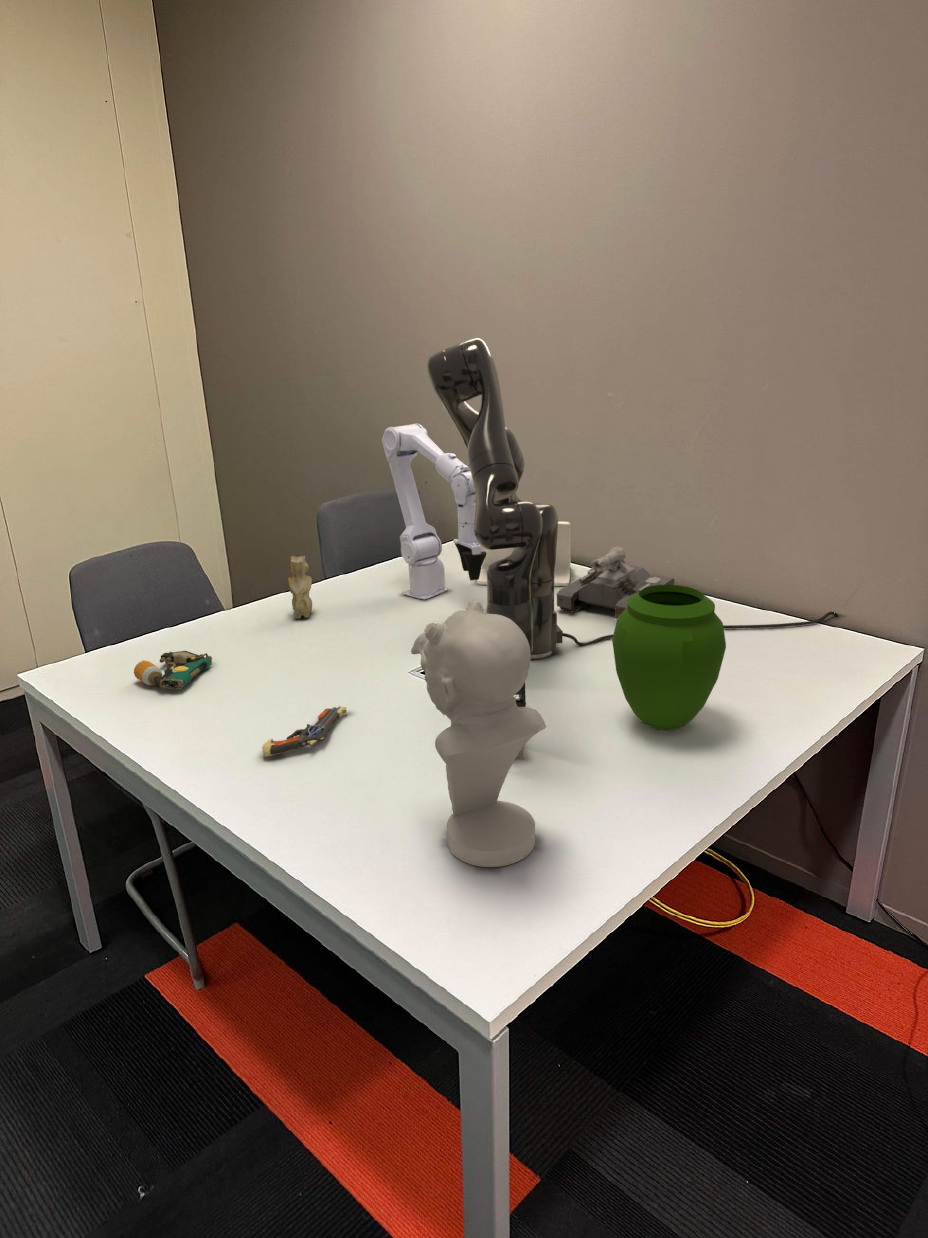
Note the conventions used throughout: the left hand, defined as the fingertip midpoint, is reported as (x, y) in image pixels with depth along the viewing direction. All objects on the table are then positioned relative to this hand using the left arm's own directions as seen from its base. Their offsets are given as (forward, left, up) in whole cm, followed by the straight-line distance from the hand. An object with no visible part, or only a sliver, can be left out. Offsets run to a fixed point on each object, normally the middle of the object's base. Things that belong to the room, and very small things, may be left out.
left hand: (471, 574), depth 210 cm
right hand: (+52, +50, -2) cm, 72 cm away
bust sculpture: (+74, +58, -9) cm, 95 cm away
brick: (+52, +49, -9) cm, 73 cm away
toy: (-24, +27, -9) cm, 37 cm away
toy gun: (+69, +16, -9) cm, 71 cm away
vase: (+26, +65, -9) cm, 71 cm away
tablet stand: (-31, -6, -9) cm, 33 cm away
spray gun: (+67, -26, -9) cm, 73 cm away
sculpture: (+27, -32, -9) cm, 43 cm away
